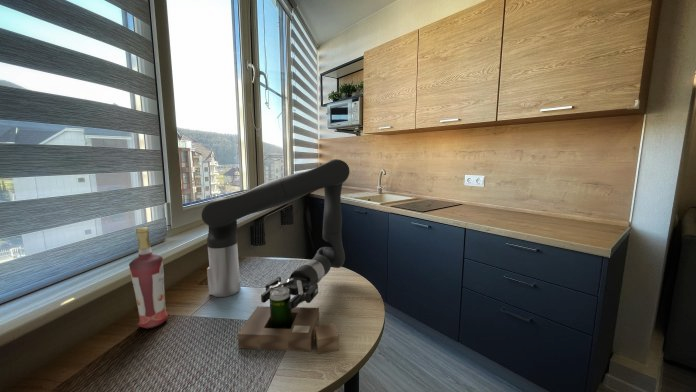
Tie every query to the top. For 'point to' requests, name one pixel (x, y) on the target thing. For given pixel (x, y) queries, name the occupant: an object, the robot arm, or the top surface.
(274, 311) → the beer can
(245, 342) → the socket block
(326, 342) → the walnut block
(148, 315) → the liquor
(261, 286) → the top surface
